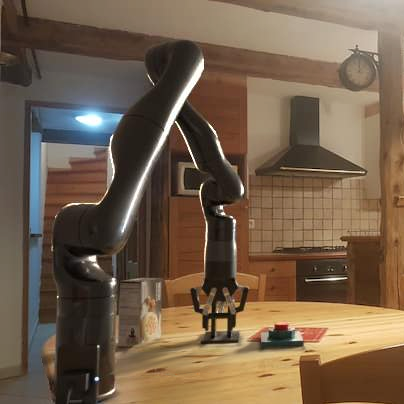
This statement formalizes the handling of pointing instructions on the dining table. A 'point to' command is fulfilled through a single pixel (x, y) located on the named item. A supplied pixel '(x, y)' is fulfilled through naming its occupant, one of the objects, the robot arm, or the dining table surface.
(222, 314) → the lever
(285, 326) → the stop button
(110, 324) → the robot arm
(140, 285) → the coffee box
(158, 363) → the dining table surface
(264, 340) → the button housing
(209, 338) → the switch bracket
